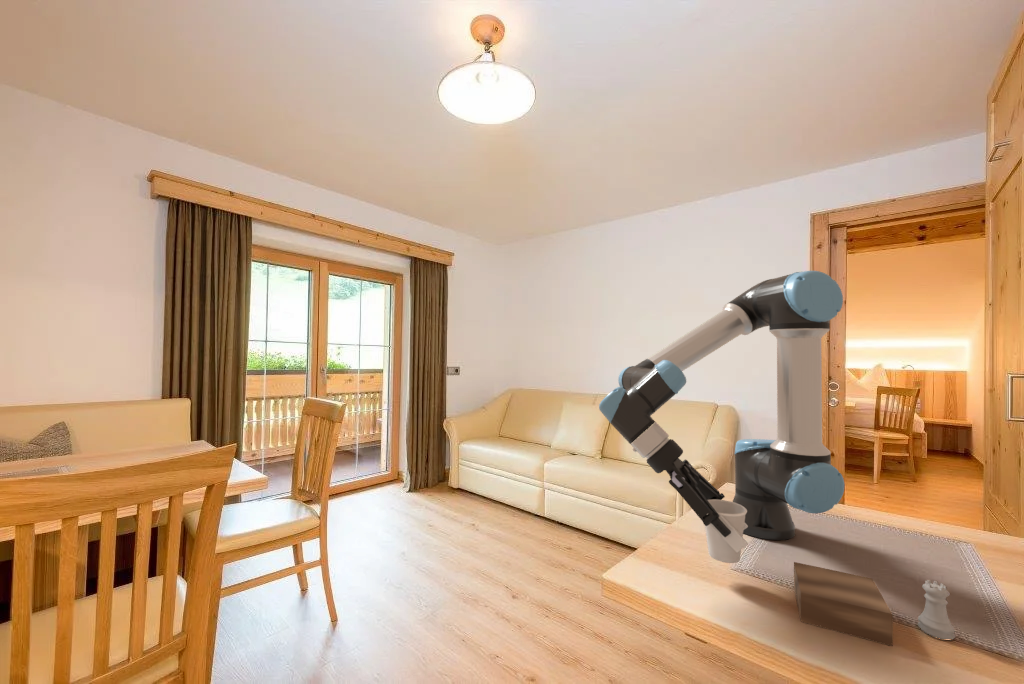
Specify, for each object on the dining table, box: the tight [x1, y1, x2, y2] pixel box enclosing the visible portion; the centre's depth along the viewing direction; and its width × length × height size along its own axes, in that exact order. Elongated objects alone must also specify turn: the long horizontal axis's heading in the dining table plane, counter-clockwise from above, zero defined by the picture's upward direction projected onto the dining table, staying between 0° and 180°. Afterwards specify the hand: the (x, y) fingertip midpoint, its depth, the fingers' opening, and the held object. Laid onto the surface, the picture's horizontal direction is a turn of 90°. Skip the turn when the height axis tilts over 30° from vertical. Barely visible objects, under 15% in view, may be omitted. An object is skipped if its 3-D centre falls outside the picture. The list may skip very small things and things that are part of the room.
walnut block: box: [793, 561, 894, 647], centre depth 75 cm, size 12×12×5 cm
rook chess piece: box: [917, 579, 956, 640], centre depth 70 cm, size 4×4×8 cm
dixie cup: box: [704, 499, 747, 564], centre depth 85 cm, size 8×8×10 cm
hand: (742, 538), depth 84 cm, fingers closed on dixie cup, 8 cm apart
